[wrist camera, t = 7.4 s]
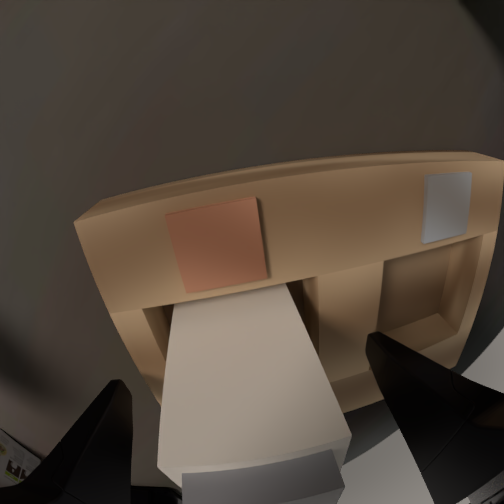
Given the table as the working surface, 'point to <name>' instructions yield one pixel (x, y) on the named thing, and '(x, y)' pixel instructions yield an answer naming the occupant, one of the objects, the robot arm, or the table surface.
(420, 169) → the socket board
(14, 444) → the coffee box
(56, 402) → the table surface
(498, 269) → the table surface
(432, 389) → the robot arm
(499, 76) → the table surface
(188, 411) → the plug
